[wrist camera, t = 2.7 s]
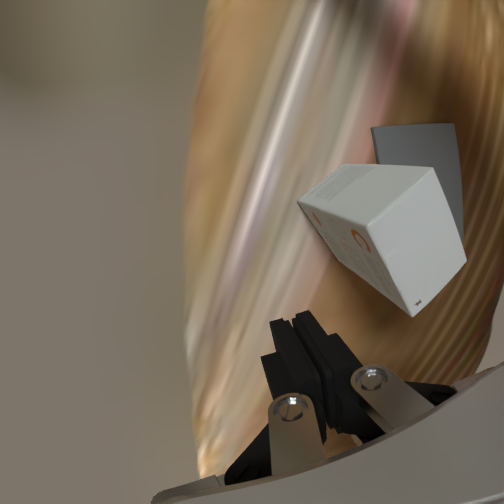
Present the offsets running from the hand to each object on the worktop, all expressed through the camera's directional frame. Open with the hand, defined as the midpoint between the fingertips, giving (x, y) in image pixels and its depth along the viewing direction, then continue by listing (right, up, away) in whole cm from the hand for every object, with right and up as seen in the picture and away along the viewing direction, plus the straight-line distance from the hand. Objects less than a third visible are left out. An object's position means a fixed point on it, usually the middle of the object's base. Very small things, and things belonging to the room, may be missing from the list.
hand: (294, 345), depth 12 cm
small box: (+7, +8, +17) cm, 20 cm away
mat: (+18, +11, +17) cm, 27 cm away
